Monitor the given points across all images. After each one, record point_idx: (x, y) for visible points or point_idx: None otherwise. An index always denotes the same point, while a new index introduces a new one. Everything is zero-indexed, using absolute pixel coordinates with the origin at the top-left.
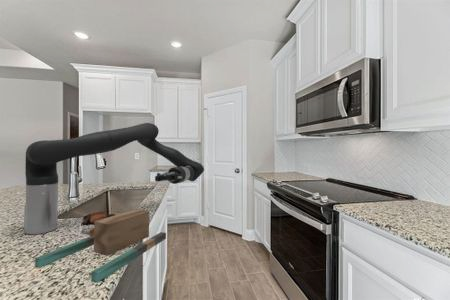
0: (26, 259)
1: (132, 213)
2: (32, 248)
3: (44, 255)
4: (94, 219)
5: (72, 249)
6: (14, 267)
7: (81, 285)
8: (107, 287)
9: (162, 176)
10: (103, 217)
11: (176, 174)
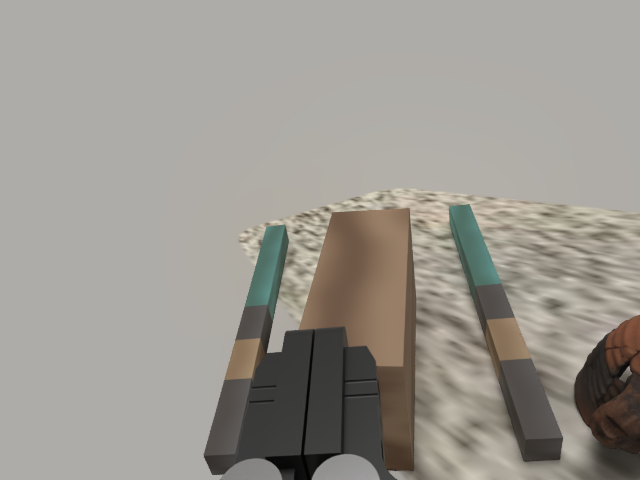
0: (535, 223)
1: (352, 305)
2: (625, 245)
3: (466, 213)
4: (628, 323)
5: (464, 261)
6: (504, 206)
7: (294, 230)
8: (240, 242)
9: (270, 423)
10: (627, 356)
11: None
